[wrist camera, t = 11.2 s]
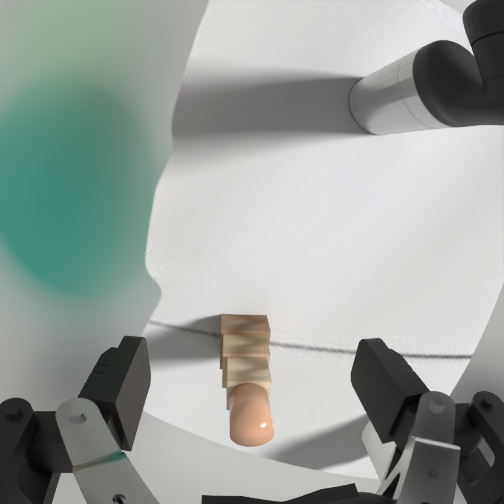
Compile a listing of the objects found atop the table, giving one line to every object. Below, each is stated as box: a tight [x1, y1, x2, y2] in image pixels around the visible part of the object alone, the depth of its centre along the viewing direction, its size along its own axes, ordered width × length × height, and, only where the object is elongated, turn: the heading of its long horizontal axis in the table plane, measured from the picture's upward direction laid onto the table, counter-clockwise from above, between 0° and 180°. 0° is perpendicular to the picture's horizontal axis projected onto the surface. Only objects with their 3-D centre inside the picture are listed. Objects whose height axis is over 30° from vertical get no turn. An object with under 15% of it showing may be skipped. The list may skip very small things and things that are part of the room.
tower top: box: [227, 356, 271, 410], centre depth 36 cm, size 5×5×5 cm
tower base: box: [220, 314, 270, 369], centre depth 45 cm, size 7×7×5 cm
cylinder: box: [230, 384, 274, 447], centre depth 31 cm, size 5×5×6 cm
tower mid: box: [222, 333, 270, 388], centre depth 41 cm, size 6×6×5 cm
